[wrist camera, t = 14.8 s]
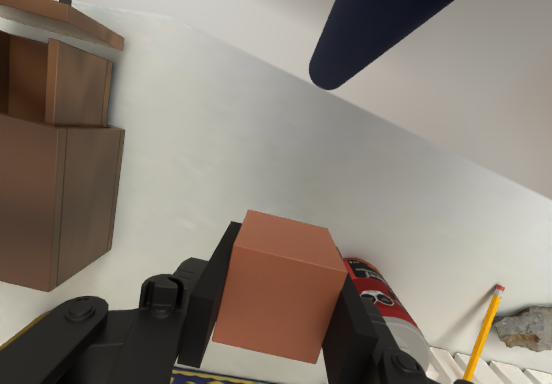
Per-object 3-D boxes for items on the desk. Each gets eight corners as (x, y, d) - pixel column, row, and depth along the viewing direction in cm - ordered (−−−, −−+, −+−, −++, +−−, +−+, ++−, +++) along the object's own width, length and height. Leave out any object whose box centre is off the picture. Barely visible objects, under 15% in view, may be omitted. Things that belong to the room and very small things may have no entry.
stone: (620, 340, 30) (591, 333, 32) (599, 295, 31) (573, 292, 34) (513, 361, 29) (493, 353, 32) (496, 315, 30) (478, 311, 33)
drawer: (6, -55, 23) (-101, -128, 17) (130, -19, 24) (73, -77, 17) (4, 144, 28) (-83, 148, 21) (110, 171, 28) (57, 183, 21)
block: (248, 209, 14) (233, 244, 10) (327, 228, 14) (348, 271, 10) (231, 280, 15) (211, 341, 11) (306, 297, 16) (316, 365, 11)
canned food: (392, 289, 32) (449, 369, 21) (338, 322, 33) (366, 414, 22) (358, 243, 30) (400, 304, 20) (303, 279, 32) (314, 354, 21)
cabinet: (8, 99, 27) (-113, 84, 19) (125, 129, 28) (58, 129, 20) (6, 224, 31) (-97, 259, 22) (111, 249, 31) (48, 292, 23)
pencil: (499, 284, 31) (495, 284, 31) (458, 396, 28) (454, 393, 29) (506, 288, 31) (501, 287, 31) (465, 401, 28) (461, 397, 29)
